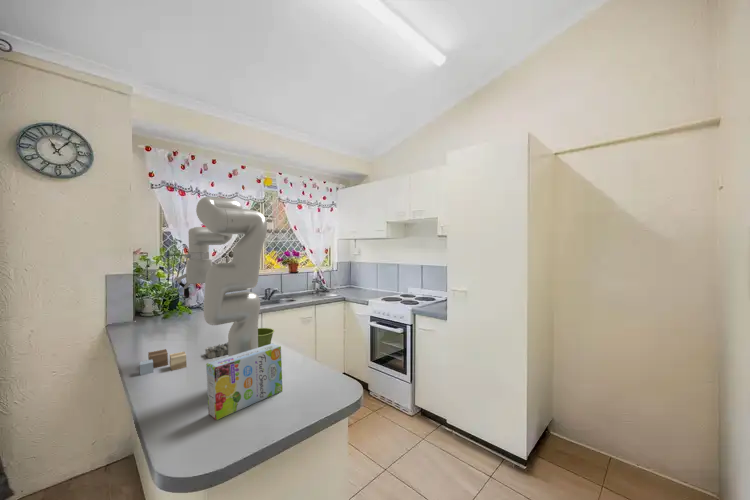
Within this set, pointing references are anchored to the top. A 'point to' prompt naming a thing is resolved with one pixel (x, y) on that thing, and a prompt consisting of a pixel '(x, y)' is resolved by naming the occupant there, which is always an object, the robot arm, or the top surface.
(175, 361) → the maple cube
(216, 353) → the egg carton
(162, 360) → the walnut block
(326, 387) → the top surface
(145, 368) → the slate cube
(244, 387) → the snack box
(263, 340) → the plant pot
